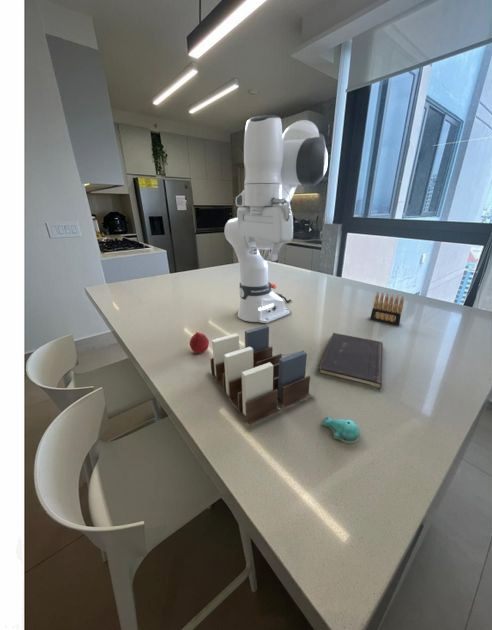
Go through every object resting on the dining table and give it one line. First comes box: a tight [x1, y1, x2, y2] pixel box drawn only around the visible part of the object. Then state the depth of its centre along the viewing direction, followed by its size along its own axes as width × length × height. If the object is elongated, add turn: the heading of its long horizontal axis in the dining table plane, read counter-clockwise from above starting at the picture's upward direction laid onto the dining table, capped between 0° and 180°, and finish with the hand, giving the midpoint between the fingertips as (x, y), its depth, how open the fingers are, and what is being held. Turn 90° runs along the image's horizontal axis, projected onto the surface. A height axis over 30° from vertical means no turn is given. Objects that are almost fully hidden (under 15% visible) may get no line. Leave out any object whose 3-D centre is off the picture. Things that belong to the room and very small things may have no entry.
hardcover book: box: [318, 332, 384, 390], centre depth 79 cm, size 16×23×2 cm
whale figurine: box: [321, 416, 360, 444], centre depth 53 cm, size 6×7×4 cm
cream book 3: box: [242, 362, 273, 416], centre depth 57 cm, size 7×2×11 cm, turn 122°
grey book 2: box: [278, 350, 308, 401], centre depth 62 cm, size 7×2×11 cm, turn 122°
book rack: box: [209, 346, 312, 426], centre depth 67 cm, size 18×22×6 cm
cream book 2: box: [224, 347, 253, 397], centre depth 63 cm, size 7×2×11 cm, turn 121°
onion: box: [189, 330, 210, 354], centre depth 81 cm, size 6×6×8 cm
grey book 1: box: [244, 324, 270, 352], centre depth 74 cm, size 7×2×11 cm, turn 122°
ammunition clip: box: [369, 291, 405, 327], centre depth 102 cm, size 11×2×12 cm, turn 55°
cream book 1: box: [211, 332, 240, 376], centre depth 69 cm, size 7×2×11 cm, turn 122°
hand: (262, 257), depth 67 cm, fingers open, 8 cm apart
